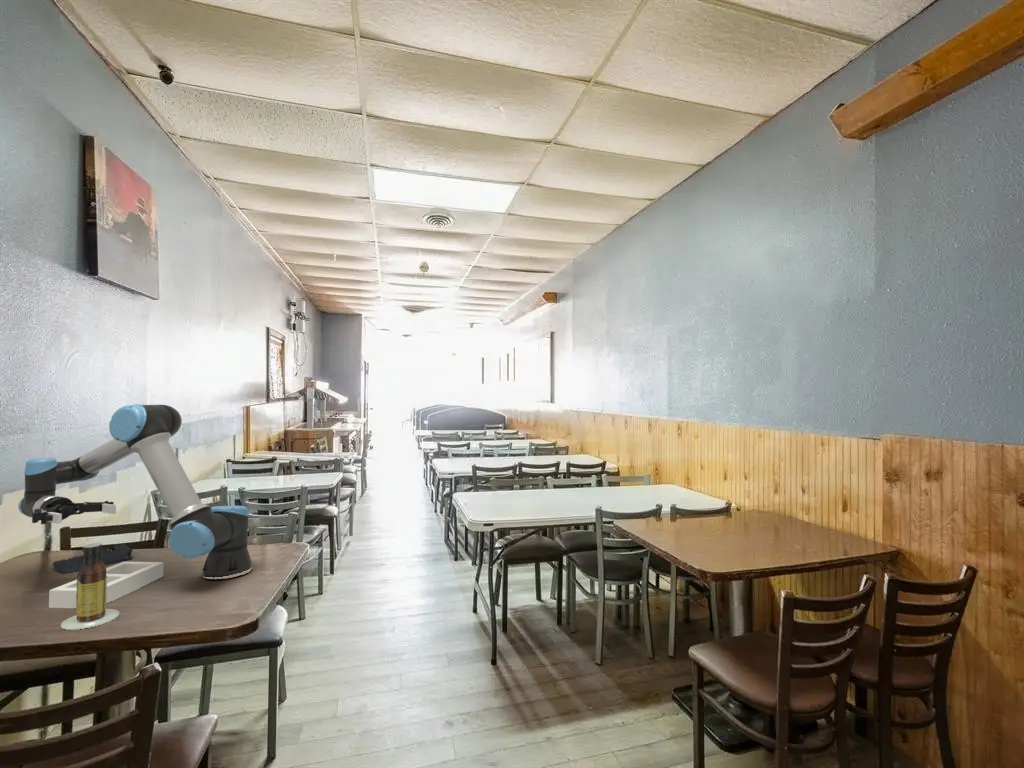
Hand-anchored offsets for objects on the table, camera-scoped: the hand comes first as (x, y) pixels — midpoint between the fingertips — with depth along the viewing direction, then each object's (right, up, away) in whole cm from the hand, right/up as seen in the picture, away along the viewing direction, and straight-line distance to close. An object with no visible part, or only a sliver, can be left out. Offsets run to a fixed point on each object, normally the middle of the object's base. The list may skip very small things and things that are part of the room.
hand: (88, 514), depth 149 cm
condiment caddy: (+3, -25, +4) cm, 26 cm away
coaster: (+14, -25, -16) cm, 33 cm away
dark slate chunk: (-25, -27, +32) cm, 49 cm away
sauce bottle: (+14, -24, -16) cm, 32 cm away
